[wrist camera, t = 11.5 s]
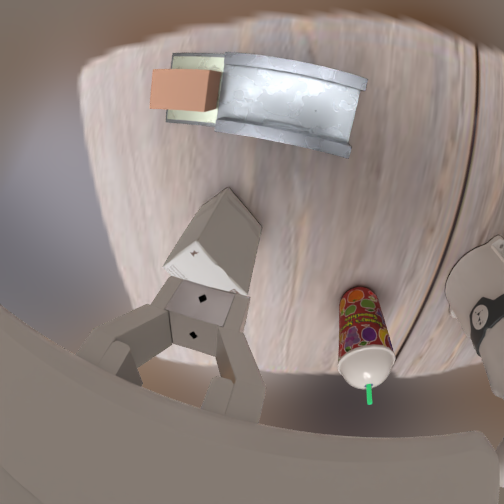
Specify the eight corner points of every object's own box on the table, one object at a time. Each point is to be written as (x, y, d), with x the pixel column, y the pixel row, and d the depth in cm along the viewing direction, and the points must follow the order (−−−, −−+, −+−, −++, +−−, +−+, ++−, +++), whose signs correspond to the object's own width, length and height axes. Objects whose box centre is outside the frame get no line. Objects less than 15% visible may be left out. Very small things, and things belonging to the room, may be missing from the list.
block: (221, 71, 28) (209, 69, 25) (216, 108, 31) (204, 112, 27) (169, 70, 29) (153, 69, 25) (166, 105, 32) (149, 108, 28)
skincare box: (200, 206, 40) (156, 265, 28) (230, 184, 38) (192, 238, 26) (235, 247, 43) (207, 316, 31) (266, 228, 41) (248, 298, 28)
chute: (361, 80, 27) (367, 79, 24) (344, 152, 32) (348, 158, 29) (174, 53, 28) (162, 51, 25) (167, 121, 34) (155, 125, 31)
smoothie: (373, 273, 41) (396, 381, 25) (385, 306, 45) (404, 406, 28) (327, 290, 45) (328, 398, 29) (343, 320, 48) (347, 420, 32)
